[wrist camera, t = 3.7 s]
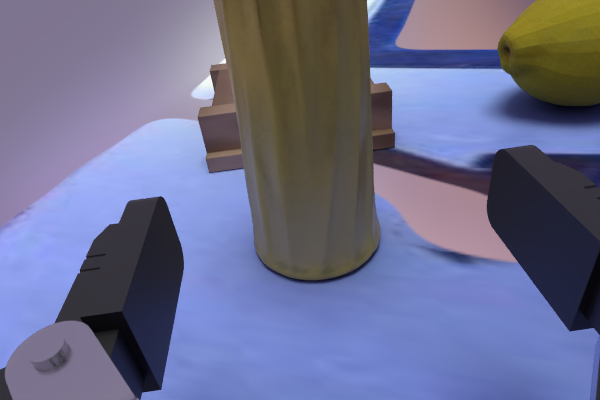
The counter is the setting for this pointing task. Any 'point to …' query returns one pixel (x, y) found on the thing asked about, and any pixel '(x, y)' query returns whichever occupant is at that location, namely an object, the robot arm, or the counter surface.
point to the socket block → (225, 132)
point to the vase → (304, 130)
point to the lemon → (555, 51)
